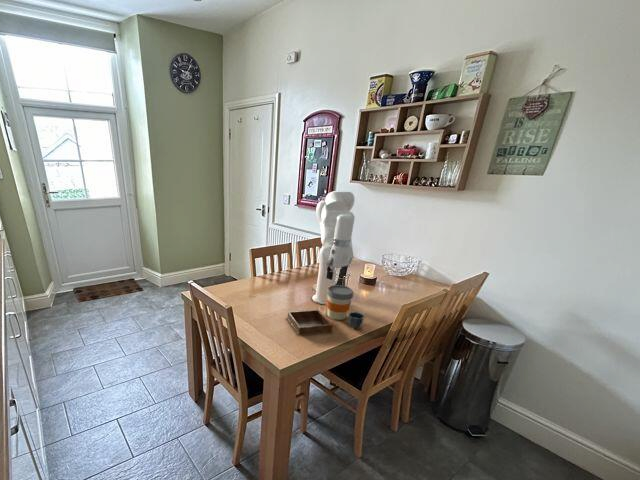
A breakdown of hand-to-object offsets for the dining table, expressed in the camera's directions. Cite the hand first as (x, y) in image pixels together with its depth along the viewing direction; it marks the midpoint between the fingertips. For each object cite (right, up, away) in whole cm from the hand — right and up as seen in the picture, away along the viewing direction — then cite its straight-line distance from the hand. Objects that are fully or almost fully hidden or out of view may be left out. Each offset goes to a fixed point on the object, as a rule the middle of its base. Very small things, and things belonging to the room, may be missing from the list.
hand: (336, 276), depth 157 cm
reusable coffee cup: (+3, -20, +12) cm, 23 cm away
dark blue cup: (+10, -24, +2) cm, 26 cm away
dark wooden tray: (-13, -24, +2) cm, 27 cm away
